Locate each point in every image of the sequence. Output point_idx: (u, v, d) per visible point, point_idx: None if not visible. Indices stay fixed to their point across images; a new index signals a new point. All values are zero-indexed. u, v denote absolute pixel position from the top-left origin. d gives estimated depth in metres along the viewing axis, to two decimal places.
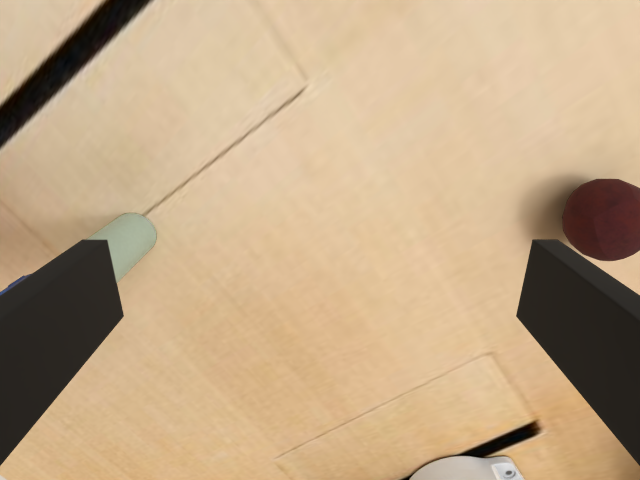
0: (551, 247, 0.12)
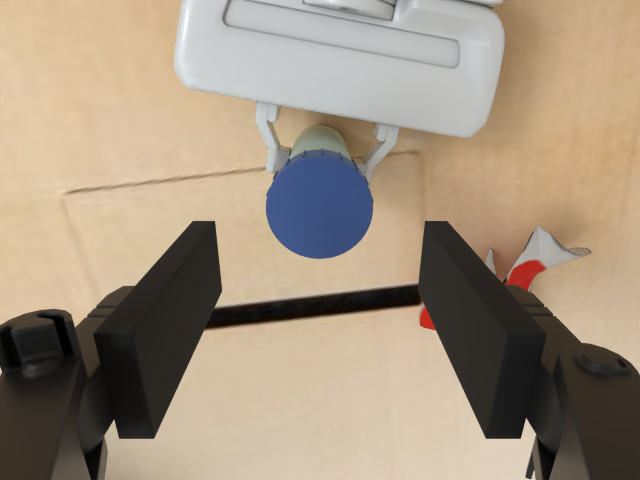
0: (437, 227, 0.13)
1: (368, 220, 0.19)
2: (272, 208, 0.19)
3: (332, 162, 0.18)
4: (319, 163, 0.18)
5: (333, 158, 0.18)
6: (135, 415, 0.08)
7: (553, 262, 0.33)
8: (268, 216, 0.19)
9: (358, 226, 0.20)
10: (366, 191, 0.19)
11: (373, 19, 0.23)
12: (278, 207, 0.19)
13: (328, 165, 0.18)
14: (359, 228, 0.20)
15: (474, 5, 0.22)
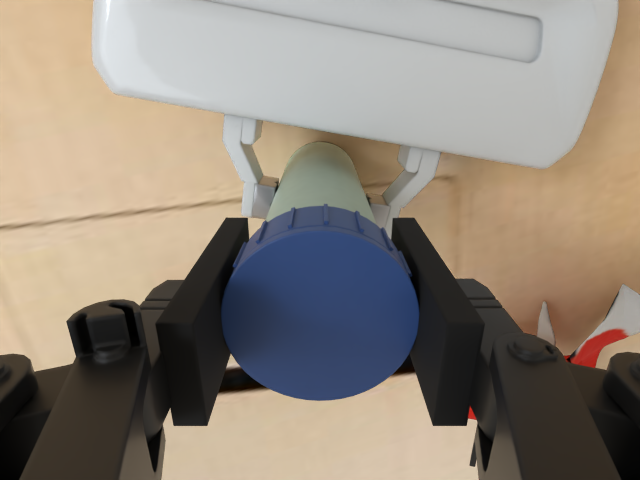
0: (402, 223, 0.13)
1: (410, 340, 0.11)
2: (232, 320, 0.10)
3: (345, 241, 0.09)
4: (320, 243, 0.09)
5: (347, 233, 0.09)
6: (191, 403, 0.09)
7: (638, 330, 0.24)
8: (225, 334, 0.10)
9: (391, 350, 0.11)
10: (409, 292, 0.10)
11: None
12: (243, 319, 0.10)
13: (337, 246, 0.10)
14: (393, 353, 0.11)
15: None
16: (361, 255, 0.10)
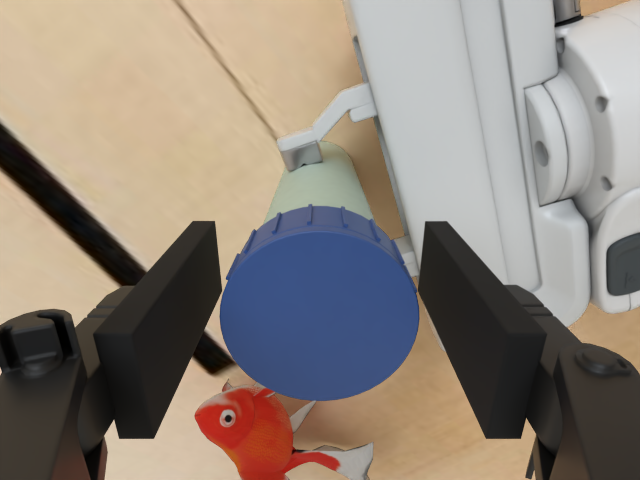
0: (436, 227, 0.13)
1: (399, 273, 0.10)
2: (263, 374, 0.11)
3: (263, 255, 0.10)
4: (249, 272, 0.10)
5: (259, 247, 0.10)
6: (135, 415, 0.08)
7: (343, 473, 0.29)
8: (269, 387, 0.11)
9: (394, 293, 0.10)
10: (351, 242, 0.09)
11: (534, 185, 0.18)
12: (268, 367, 0.11)
13: (263, 263, 0.10)
14: (399, 294, 0.10)
15: (589, 286, 0.19)
16: (285, 252, 0.10)
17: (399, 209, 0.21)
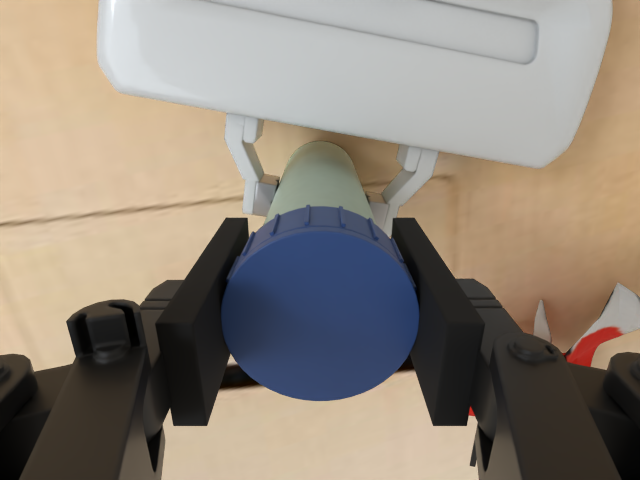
0: (402, 223, 0.13)
1: (305, 237, 0.09)
2: (345, 389, 0.11)
3: (228, 333, 0.10)
4: (240, 349, 0.11)
5: (223, 330, 0.10)
6: (190, 403, 0.09)
7: (633, 328, 0.25)
8: (361, 391, 0.11)
9: (324, 250, 0.10)
10: (251, 263, 0.10)
11: None
12: (340, 382, 0.11)
13: (237, 336, 0.10)
14: (327, 247, 0.10)
15: None
16: (235, 316, 0.10)
17: None
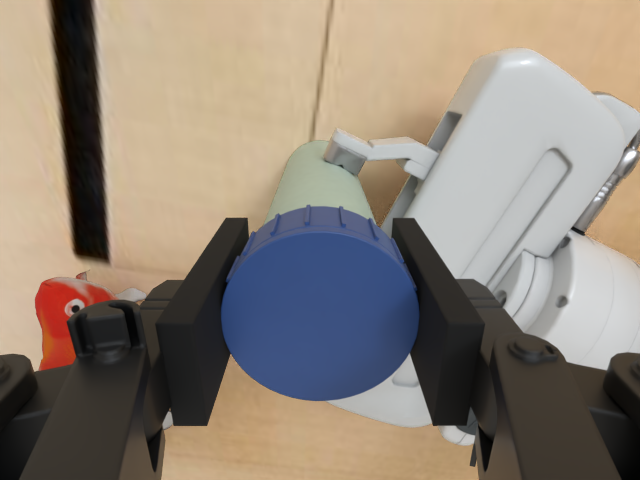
0: (402, 223, 0.13)
1: (305, 236, 0.09)
2: (345, 389, 0.11)
3: (228, 332, 0.10)
4: (240, 349, 0.11)
5: (223, 330, 0.10)
6: (190, 403, 0.09)
7: None
8: (361, 391, 0.11)
9: (324, 250, 0.10)
10: (251, 262, 0.10)
11: None
12: (340, 382, 0.11)
13: (237, 335, 0.10)
14: (327, 247, 0.10)
15: None
16: (235, 315, 0.10)
17: None
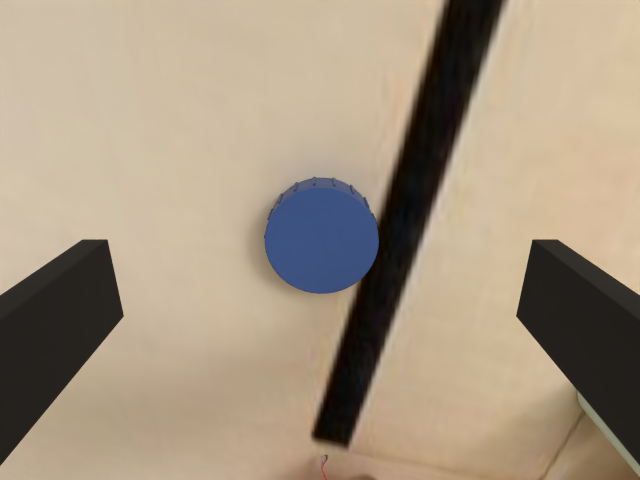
0: (551, 247, 0.12)
1: (313, 190, 0.17)
2: (336, 285, 0.19)
3: (269, 248, 0.18)
4: (275, 259, 0.18)
5: (266, 247, 0.18)
6: None
7: None
8: (346, 286, 0.19)
9: (324, 198, 0.17)
10: (283, 205, 0.17)
11: None
12: (333, 280, 0.19)
13: (274, 250, 0.18)
14: (325, 196, 0.17)
15: None
16: (273, 238, 0.18)
17: None
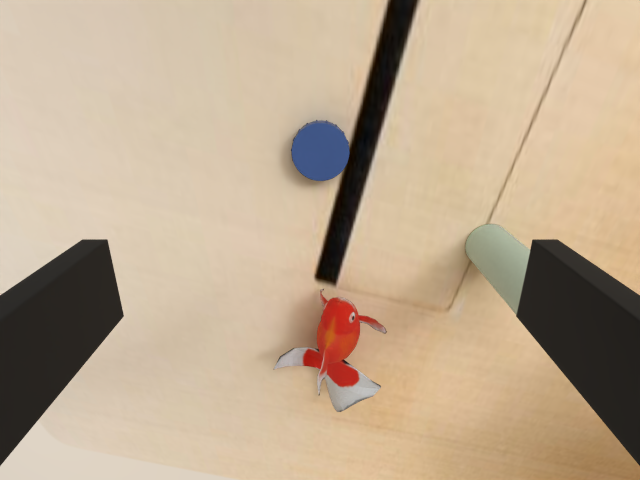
0: (551, 247, 0.12)
1: (316, 124, 0.35)
2: (328, 176, 0.37)
3: (294, 155, 0.36)
4: (297, 161, 0.36)
5: (292, 155, 0.36)
6: None
7: (343, 391, 0.43)
8: (333, 176, 0.37)
9: (321, 128, 0.35)
10: (301, 132, 0.35)
11: None
12: (326, 173, 0.36)
13: (296, 156, 0.36)
14: (322, 127, 0.35)
15: None
16: (296, 149, 0.36)
17: None
